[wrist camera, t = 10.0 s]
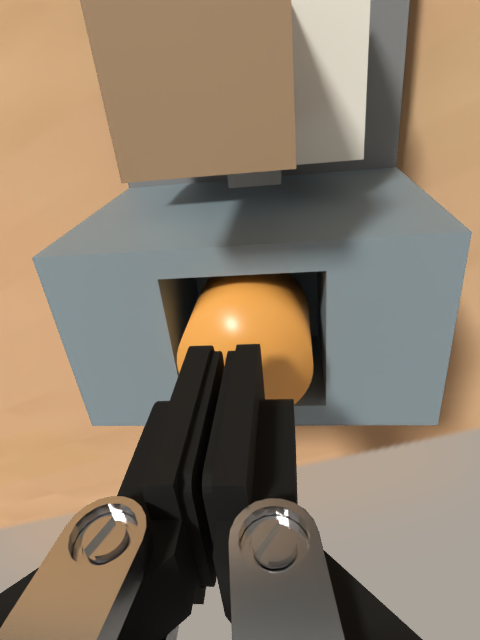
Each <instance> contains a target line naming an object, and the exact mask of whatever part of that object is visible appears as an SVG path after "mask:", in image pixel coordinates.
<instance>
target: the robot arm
mask: <svg viewBox="0 0 480 640" xmlns="http://www.w3.org/2000/svg"><path fill="white" fill-rule="evenodd" d="M296 474H297V473H296V441H295V417H294V399H265V392H264V380H263V369H262V357H261V347H260V344H237V345H236V349H235V351H228V352H227V357H226V361H225V366H224V360H223V354H222V351H215V350H214V347H213V346H212V345H206V346H189V348H188V350H187V353H186V356H185V359H184V361H183V364H182V367H181V370H180V373H179V376H178V378H177V381H176V384H175V387H174V390H173V393H172V395H171V398H170V401H157V402H156V403H155V404H154V405H153V407H152V410H151V412H150V415H149V417H148V420H147V422H146V425H145V427H144V430H143V432H142V435H141V437H140V440H139V442H138V445H137V447H136V450H135V452H134V455H133V457H132V460H131V462H130V465H129V467H128V470H127V472H126V475H125V477H124V480H123V482H122V485H121V487H120V490H119V492H118V495H117V496H111V497H107V498H103V499H99V500H97V501H95V502H93V503H91V504H89V505H87V506H85V507H84V508H83V509H82V510H80V511H79V512H78V513H77V514H75V515H74V517H73V518H72V519H71V520H70V522H69V523H68V524H67V525H66V527H65V528H64V530H63V531H62V533H61V534H60V536H59V537H58V539H57V541H56V542H55V544H54V545H53V547H52V548H51V550H50V552H49V553H48V555H47V556H46V558H45V559H44V561H43V562H42V564H41V566H40V567H39V568H37V569H36V570H34V571H33V572H32V573H30V574H29V575H27V576H26V577H24V578H23V579H21V580H20V581H18V582H17V583H15V584H14V585H12V586H11V587H9V588H8V589H6V590H5V591H3V592H2V593H0V640H176V639H177V634H178V628H179V624H180V623H181V622H182V621H184V620H185V619H186V618H187V617H188V616H189V615H190V614H191V610H192V605H193V604H203V603H204V597H205V590H206V586H209V587H214V585H215V583H216V577H217V579H218V584H219V588H220V593H221V597H222V602H223V607H224V612H225V616H226V617H227V618H228V620H229V621H230V622H231V624H232V640H422V639H421V638H420V637H419V636H418V635H417V634H416V633H415V632H414V631H412V630H411V629H410V628H409V627H408V626H407V625H406V624H405V623H404V622H402V621H401V620H400V619H399V618H398V617H397V616H396V615H395V614H394V613H393V612H391V611H390V610H389V609H388V608H387V607H386V606H385V605H383V603H382V602H380V601H379V600H378V599H377V598H376V597H375V596H374V595H373V594H372V593H370V592H369V591H368V590H367V589H366V588H365V587H364V586H363V585H362V584H361V583H359V582H358V581H357V580H356V579H355V578H354V577H353V576H352V575H350V574H349V573H348V572H347V571H346V570H345V569H344V568H343V567H342V566H341V565H340V564H338V563H337V562H336V561H335V560H334V559H333V558H332V557H331V556H330V555H328V554H327V553H326V552H325V551H324V550H323V546H322V542H321V539H320V534H319V531H318V528H317V526H316V524H315V521H314V519H313V518H312V517H311V516H310V515H309V513H308V512H307V511H306V510H305V509H304V508H302V507H300V506H299V505H297V475H296Z"/></svg>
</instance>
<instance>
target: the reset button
mask: <svg viewBox="0 0 480 640" xmlns="http://www.w3.org/2000/svg"><path fill="white" fill-rule="evenodd" d="M237 344H260V347H261V357H262V369H263V380H264V392H265V399H294V404H296V403H297V402H298V401H299V400H300V399H301V398H302V396H303V395H304V394H305V392H306V391H307V389H308V387H309V385H310V383H311V380H312V376H313V355H312V343H311V331H310V319H309V308H308V301H307V297H306V295H305V293H304V290H303V289H302V287H301V285H300V284H299V283H298V282H297V280H296V279H295V278H294V277H293V276H292V275H291V274H289V273H277V274H256V275H236V276H216V277H210V278H209V279H208V280H207V281H206V283H205V284H204V286H203V288H202V290H201V292H200V294H199V297H198V299H197V302H196V304H195V307H194V309H193V312H192V314H191V317H190V319H189V322H188V324H187V327H186V329H185V332H184V334H183V336H182V339H181V342H180V344H179V347H178V352H177V367H178V372H179V373H180V370H181V367H182V364H183V361H184V359H185V356H186V353H187V350H188V348H189V346H206V345H212V346H213V347H214V350H215V351H222V354H223V360H224V366H225V361H226V357H227V352H228V351H235V349H236V345H237Z"/></svg>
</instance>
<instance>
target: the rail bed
mask: <svg viewBox="0 0 480 640" xmlns="http://www.w3.org/2000/svg"><path fill="white" fill-rule="evenodd" d="M409 3H410V0H371V1H370V24H369V47H368V70H367V93H366V116H365V139H364V159H362V160H350V161H338V162H326V163H314V164H301V165H296V169H289V170H277V171H264V172H252V173H240V174H228V175H215V176H203V177H191V178H179V179H166V180H154V181H142V182H130V183H128V185H129V189H127V190H126V191H125V192H123V193H122V194H120V195H119V196H118V197H116V198H115V199H113V200H112V201H111V202H109V203H108V204H107V205H105V206H104V207H102V208H101V209H100V210H98V211H97V212H95V213H94V214H93V215H91V216H90V217H88V218H87V219H86V220H84V221H83V222H81V223H80V224H79V225H77V226H76V227H74V228H73V229H72V230H70V231H69V232H67V233H66V234H65V235H63V236H62V237H60V238H59V239H58V240H56V241H55V242H53V243H52V244H51V245H49V246H48V247H47V248H45V249H44V250H42V251H41V252H40V253H38V254H37V255H35V256H34V257H33V258H32V259H33V262H34V265H35V267H36V270H37V273H38V276H39V279H40V281H41V284H42V287H43V290H44V292H45V295H46V298H47V301H48V304H49V306H50V309H51V312H52V315H53V318H54V320H55V323H56V326H57V329H58V332H59V334H60V337H61V340H62V343H63V346H64V348H65V351H66V354H67V357H68V359H69V362H70V365H71V368H72V371H73V373H74V376H75V379H76V382H77V385H78V387H79V390H80V393H81V396H82V399H83V401H84V404H85V407H86V410H87V412H88V415H89V418H90V421H91V424H92V426H145V425H146V422H147V420H148V417H149V415H150V412H151V410H152V407H153V405H154V404H155V403H156V402H157V401H170V398H171V395H172V393H173V390H174V387H175V384H176V381H177V378H178V376H179V372H178V367H177V352H178V347H179V344H180V342H181V339H182V336H183V334H184V332H185V329H186V327H187V324H188V322H189V319H190V317H191V314H192V312H193V309H194V307H195V304H196V302H197V299H198V297H199V294H200V292H201V290H202V288H203V286H204V284H205V283H206V281H207V280H208V279H209V278H210V277H216V276H236V275H256V274H277V273H289V274H291V275H292V276H293V277H294V278H295V279H296V280H297V282H298V283H299V284H300V285H301V287H302V289H303V290H304V293H305V295H306V297H307V301H308V308H309V319H310V331H311V343H312V355H313V376H312V380H311V383H310V385H309V387H308V389H307V391H306V392H305V394H304V395H303V396H302V398H301V399H300V400H299V401H298V402H297V403H296V404H294V417H295V425H438V421H439V415H440V410H441V404H442V398H443V393H444V387H445V381H446V375H447V370H448V364H449V358H450V353H451V347H452V341H453V336H454V330H455V324H456V319H457V313H458V307H459V302H460V296H461V290H462V285H463V279H464V273H465V268H466V262H467V256H468V251H469V245H470V239H471V234H472V232H471V231H470V230H469V229H468V228H467V227H465V226H464V225H463V224H462V223H461V222H460V221H458V220H457V219H456V218H455V217H454V216H453V215H452V214H450V213H449V212H448V211H447V210H446V209H445V208H443V207H442V206H441V205H440V204H439V203H438V202H436V201H435V200H434V199H433V198H432V197H431V196H430V195H428V194H427V193H426V192H425V191H424V190H423V189H421V188H420V187H419V186H418V185H417V184H416V183H414V182H413V181H412V180H411V179H410V178H409V177H407V176H406V175H405V174H404V173H403V172H402V171H401V170H399V169H398V168H397V167H396V165H397V153H398V140H399V128H400V115H401V103H402V90H403V78H404V65H405V53H406V40H407V28H408V15H409Z"/></svg>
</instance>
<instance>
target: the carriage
mask: <svg viewBox="0 0 480 640" xmlns="http://www.w3.org/2000/svg"><path fill="white" fill-rule="evenodd" d="M370 1H371V0H80V2H81V6H82V11H83V15H84V20H85V24H86V28H87V33H88V37H89V42H90V46H91V50H92V55H93V59H94V64H95V68H96V72H97V77H98V81H99V85H100V90H101V94H102V99H103V103H104V107H105V112H106V116H107V121H108V125H109V129H110V134H111V138H112V143H113V147H114V151H115V156H116V160H117V165H118V169H119V173H120V178H121V182H122V183H130V182H142V181H154V180H166V179H179V178H191V177H203V176H215V175H228V174H240V173H252V172H264V171H277V170H289V169H296V165H301V164H314V163H326V162H338V161H350V160H362V159H364V139H365V116H366V93H367V70H368V47H369V24H370Z"/></svg>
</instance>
